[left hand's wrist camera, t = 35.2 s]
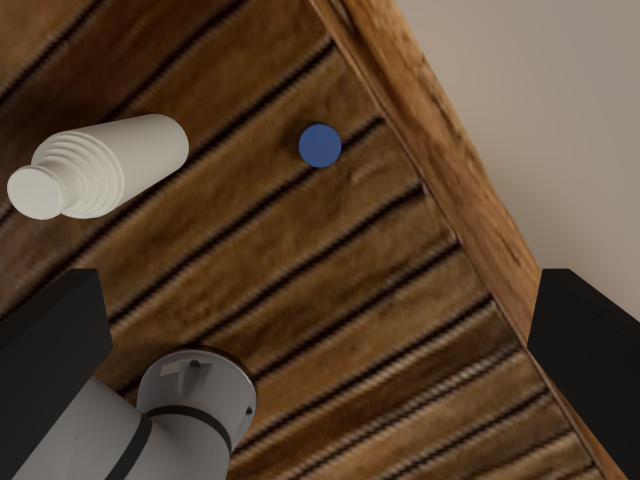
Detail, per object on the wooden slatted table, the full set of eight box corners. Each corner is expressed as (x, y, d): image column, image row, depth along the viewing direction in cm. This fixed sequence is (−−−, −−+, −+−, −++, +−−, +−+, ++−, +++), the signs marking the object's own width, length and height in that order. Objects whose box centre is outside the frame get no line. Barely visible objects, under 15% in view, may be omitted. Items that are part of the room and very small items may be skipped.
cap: (345, 159, 46) (345, 161, 44) (305, 169, 46) (304, 172, 44) (335, 117, 44) (335, 118, 42) (294, 128, 44) (293, 130, 43)
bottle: (155, 184, 46) (33, 260, 27) (117, 134, 45) (-44, 177, 25) (200, 154, 45) (108, 210, 26) (163, 101, 43) (33, 119, 24)
